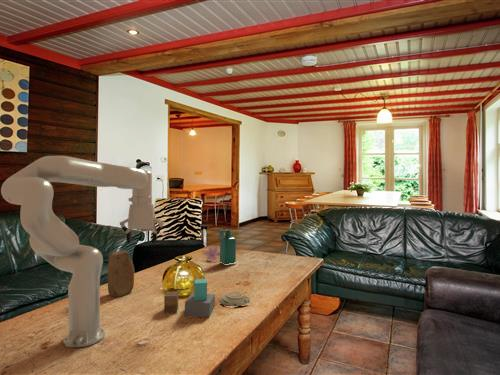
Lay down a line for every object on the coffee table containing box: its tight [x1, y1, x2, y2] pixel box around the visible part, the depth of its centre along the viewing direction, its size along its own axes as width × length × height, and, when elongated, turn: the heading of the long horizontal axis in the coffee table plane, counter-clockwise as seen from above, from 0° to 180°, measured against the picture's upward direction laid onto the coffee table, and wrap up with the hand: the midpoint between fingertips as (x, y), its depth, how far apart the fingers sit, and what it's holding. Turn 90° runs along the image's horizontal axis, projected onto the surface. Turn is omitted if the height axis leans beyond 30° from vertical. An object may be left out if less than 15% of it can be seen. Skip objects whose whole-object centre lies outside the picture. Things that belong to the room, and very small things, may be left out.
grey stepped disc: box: [218, 291, 251, 307], centre depth 147 cm, size 15×4×15 cm
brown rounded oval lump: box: [107, 249, 135, 298], centre depth 155 cm, size 11×8×20 cm
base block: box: [184, 292, 216, 318], centre depth 136 cm, size 10×10×6 cm
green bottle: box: [218, 229, 237, 264], centre depth 209 cm, size 10×8×22 cm
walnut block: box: [163, 291, 179, 314], centre depth 136 cm, size 5×5×7 cm
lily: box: [201, 244, 220, 261], centre depth 218 cm, size 12×12×10 cm
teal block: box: [193, 278, 208, 301], centre depth 135 cm, size 5×5×7 cm
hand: (141, 242), depth 134 cm, fingers open, 9 cm apart
